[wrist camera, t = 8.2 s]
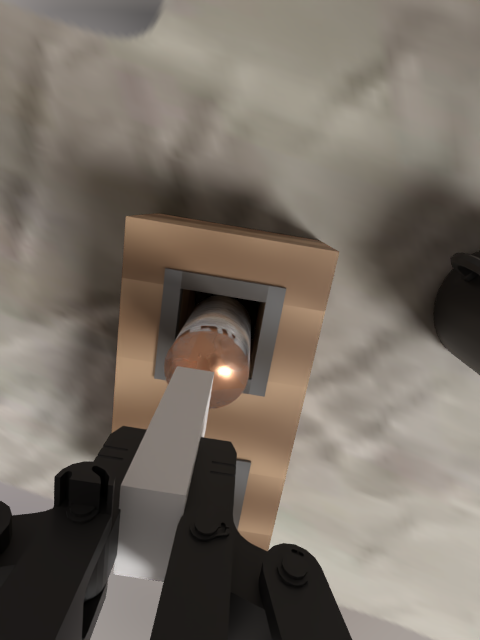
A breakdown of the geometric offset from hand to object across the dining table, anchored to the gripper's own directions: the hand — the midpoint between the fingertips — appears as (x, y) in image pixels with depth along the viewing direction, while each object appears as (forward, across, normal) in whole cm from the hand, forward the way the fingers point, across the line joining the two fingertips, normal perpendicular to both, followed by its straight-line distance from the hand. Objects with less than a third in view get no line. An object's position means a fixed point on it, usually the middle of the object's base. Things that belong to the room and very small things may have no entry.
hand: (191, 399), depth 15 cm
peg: (+10, 0, 0) cm, 10 cm away
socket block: (+15, 0, -6) cm, 16 cm away
